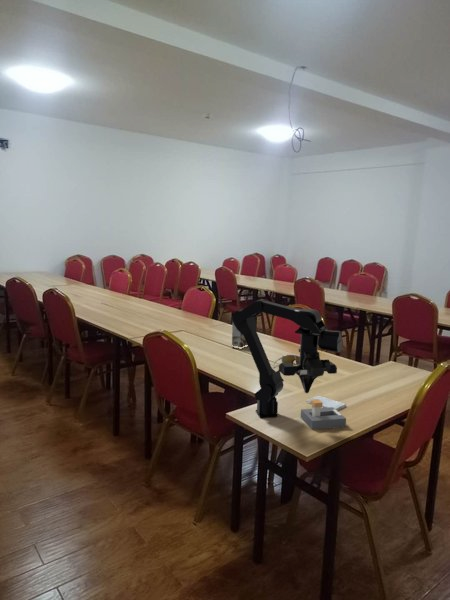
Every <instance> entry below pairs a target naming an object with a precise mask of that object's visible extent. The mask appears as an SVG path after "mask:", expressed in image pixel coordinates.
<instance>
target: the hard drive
mask: <svg viewBox="0 0 450 600" xmlns="http://www.w3.org/2000/svg"><path fill="white" fill-rule="evenodd" d="M312 399H319V400H320V401H321V402H322V403H323V404H322V407H323V408H330V407H333V408H334V409H336V410H337V411H339V409H340V410H341V408H342V409H343V408H346V407H347V404H346V403H343V402H340V401H336V400H333V399H331V398H327V397H324V396H321V395H315V396H313V397H311V398H308V399H306V402H309V403H311V400H312ZM309 403H308V404H309Z"/></svg>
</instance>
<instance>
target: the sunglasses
mask: <svg viewBox="0 0 450 600" xmlns="http://www.w3.org/2000/svg"><path fill="white" fill-rule="evenodd" d="M280 360H281V363H291V364H294V362H295V363H296V365H297V366H298V365H299V364H298V361H299V360H300V354H293V353H291V354H290V353H289V354H285V355H282V356H281V357H278V358H277V359H276V360H275V361H274V363H273V364H272V365H273V367H272V369H273V370H275V364H276V363H277V362H278V361H280Z"/></svg>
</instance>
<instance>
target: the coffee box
mask: <svg viewBox="0 0 450 600" xmlns="http://www.w3.org/2000/svg"><path fill="white" fill-rule="evenodd" d="M231 323H232V329H231V331H232V333H231V335H232V336H231V346H232V345H233V346H238V347H243V346H245V345H247V343H246V340H245V338H244V336H243V335H242V334H241V333H240V332H239V331H238V330H237V328H236V327H235V325H234V324H233V322H231Z"/></svg>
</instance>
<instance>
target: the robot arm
mask: <svg viewBox="0 0 450 600" xmlns="http://www.w3.org/2000/svg"><path fill="white" fill-rule="evenodd" d="M261 313H264V314H268V315H272V316H274V317H279V318H280V319H281V318H282V319H286V320H289V321H291V322H292V323H294V324H295V325H297V326H299V328H298V329H296V330H295V331H294V333H295V334H298V335H300V344H299V345H300V346H299V347H300V348H298V353H299V356H300V360H299V361H298V364H299V365H298V364H297V365H294V363H282V362H280V363H279V366H278V370H275V369H273V367H272V365H271V363H270V361H269V359H268V356H267V353H266V352H265V348H264V347H263V344H262V342H261V339H260V337H259V335H258V333H257V332H258V331H257V321H256V317H258V316H259V315H261ZM322 318H323V316H322V314H321V313H320V311H318V310H317V309H314V308H295V307H292V306H287V305H283V304H279V303H277V302H276V303H275V302H272V301H268V300H266V299H263V298H262V299H257V300H255V301H254V302H253V303H251V304H250V305H248V306H247V307H245V308H243V309H240V310H235V311H234V313H233V314H232V316H231V321H232V322H231V323H233V324H234V325H235V327H236V328H237V330H238V331H239V332H240V333H241V334H242V335H243V336H244V338H245V340H246V343H247V345H248V347H247V348H248V349H249V352H250V354H251V357H252V359H253V361H254V363H255V366H256V369H257V372H258V375H259V377H258V379H259V380H258V382H259V386H260V388H259V390H258V391H256V392H255V393H254V399H255V400H256V409H255V413H256V414H257V415H258V417H259V418H260V419H265V418H277V417H278V411H279V410H278V409H279V401H277V396H278V395H279V393H281V391H282V390H283V388H284V381H285V380H284V378H283V377H282V375H283V376H284V377H285V376H286V377H289V376H290V377H292V376H295V375H297V376H298V377H299V380H300V382H301V385H302V388H303V391H304V393H305V394H309V392H310V389H311V387H312V385H313V383H314V381H315V380H316V379H317V378H319V377H323V376H324V374H325V372H326V373H327V374H329V375H331V374H337V373H338V367H337V365H336V364H335V363H333V362H332V361H331V360H329V359H321V358H320V357H321V355H320V352H319V349H321V350H322V351H327V352H333V353H341V350H342V347H343V338H342V336H343V335H342V331H341V330H330V329H329V330H328V328H327V326H326V324H325V322H324V321H323V319H322Z"/></svg>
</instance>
